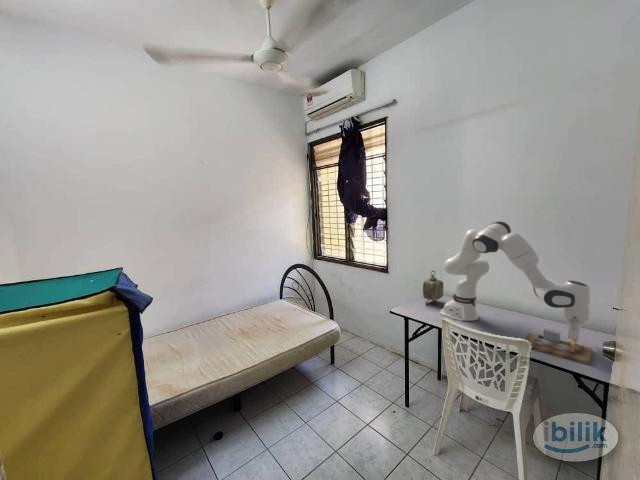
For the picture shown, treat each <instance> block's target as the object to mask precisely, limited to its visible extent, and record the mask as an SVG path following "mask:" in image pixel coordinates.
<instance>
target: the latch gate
mask: <svg viewBox="0 0 640 480" xmlns="http://www.w3.org/2000/svg"><path fill="white" fill-rule="evenodd" d="M570 342H571V349H570V352H574V350H575V344H576V343H575V340H573V339H571V341H570Z"/></svg>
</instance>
